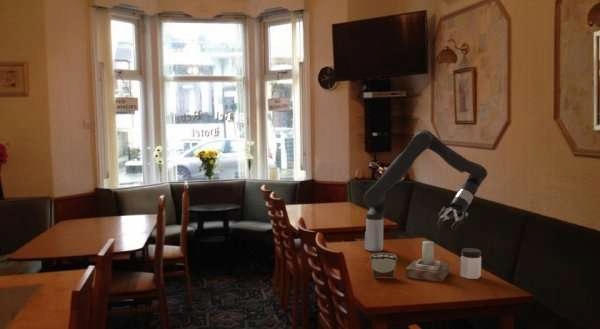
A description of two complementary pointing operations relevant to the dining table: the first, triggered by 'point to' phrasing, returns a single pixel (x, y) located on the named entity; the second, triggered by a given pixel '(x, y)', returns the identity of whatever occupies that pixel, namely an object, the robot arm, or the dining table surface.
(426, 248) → the sage cylinder
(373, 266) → the food container
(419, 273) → the display plinth
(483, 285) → the dining table surface
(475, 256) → the jar
